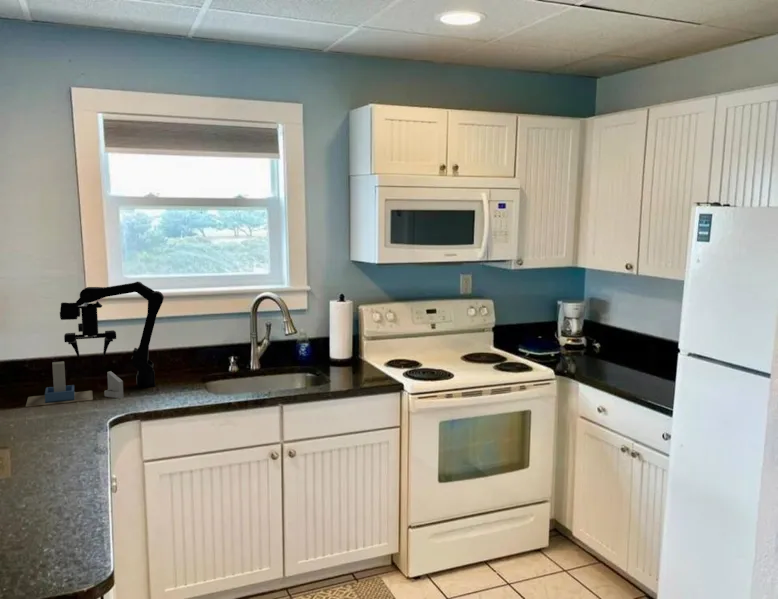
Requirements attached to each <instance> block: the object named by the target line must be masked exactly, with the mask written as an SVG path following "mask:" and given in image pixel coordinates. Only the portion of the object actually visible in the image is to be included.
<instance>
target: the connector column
mask: <svg viewBox="0 0 778 599" xmlns="http://www.w3.org/2000/svg"><path fill="white" fill-rule="evenodd" d="M65 368H66V366H65V361H64V360H62V361H54V362H53V361H52V379H53V380H52V382H53V387H54V392H62V391H66V386H67V385H66V369H65Z"/></svg>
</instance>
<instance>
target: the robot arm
mask: <svg viewBox="0 0 778 599" xmlns="http://www.w3.org/2000/svg"><path fill="white" fill-rule="evenodd" d="M132 293H136V294H138V295H140V296H141V297H142V298H144V299H145V300H147V314H146V318H145V322H144V325H143V331H142V334H141V337H140V338H141V339H140V342H139V345H138V348H137V347H134V348H133V352H132V356H131V359H130V360H131V361H132V366H133V367H134V368H135V369H136V370H137V374H136V375H135V376H136V377H135V378H136V386H137V387H138V388H139V387H142V388H149V387H150V388H151V386H152V387H156V381H155V380H156V379H155V378H156V376H155V374H156V373H155V369H154V365H155V364H154V362H152V360H150V359H149V356H150V354H149V353H150V352H149V351H150V344H151V343H150V342H151V338H152V335H153V330H154V328H155V324H156V319H157V315H158V314H159V311H160V310H161V307H162V304H163V302H164V295H163V293H162V292H160V291H159V290H154V289H152V288H150V287H149V286H147V285H145V284H143V282H141V281H134V282H130V283H125V284H118V285H111V286H106V287H105V286H104V287H102V286H101V287H100V286H88V287H87V286H86V287H85V288H83V289H82V290H81V291H80V292H79V298H78V300H76V301H75V302H61V303H60V308H59V310H60V311H59V318H60V321H67V320H70V321H71V320H73V321H74V320H78V317H79V318H80V317H81V323H78V324H77V327H78V328H77V330H78V332H79V333H80V334H76V332H67V333H64V335H63V338H64V339H63V340H64V343H68V345H71V346H72V348H73V349H74V352H75V354H76V356H77V358H78V359H80V351H79V345H78V340H85V339H86V340H87V339H89V340H90V339H102V338H104V339H103V341H104V342H103V343H104V344H103V357H104V358H105V357H106V354H107V350H108V347H109V346H110V343H112V342H114V340H117V333H116V330H105V331H104V332H101V333H99V320H98V319H99V318H98V317H99V316H98V309H100V308H102V307H103V305H102V304H101V302H99V300H101V299H104V298H107V297H113V296H119V295H127V294H132ZM92 302H94V303H92ZM84 304H86V305H84Z"/></svg>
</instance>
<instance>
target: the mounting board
mask: <svg viewBox="0 0 778 599" xmlns="http://www.w3.org/2000/svg"><path fill="white" fill-rule="evenodd" d="M74 392H75V397H74V400H70V401H60V402H50V403H45V394H43V395H33V396H28V397H27V401H26V404H25V407H26V408H27V407H35V406H37V407H38V406H45V405H55V404H64V403H75V402H84V401H86V402H87V401H94V400H93V399H94V397H93V390H84V391H83V390H82V391H74Z"/></svg>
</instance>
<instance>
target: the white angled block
mask: <svg viewBox="0 0 778 599" xmlns="http://www.w3.org/2000/svg"><path fill="white" fill-rule="evenodd" d="M106 375H107V389H106V390H104V397H108V398H113V399H114V398H116V399H117V398H118V400H121V398H122V399H124V397H125V396H124V380H122V379H121V378H120V377H119V376H118V375H116V374H115V373H114V372H112V370H110V371H107V374H106Z"/></svg>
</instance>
